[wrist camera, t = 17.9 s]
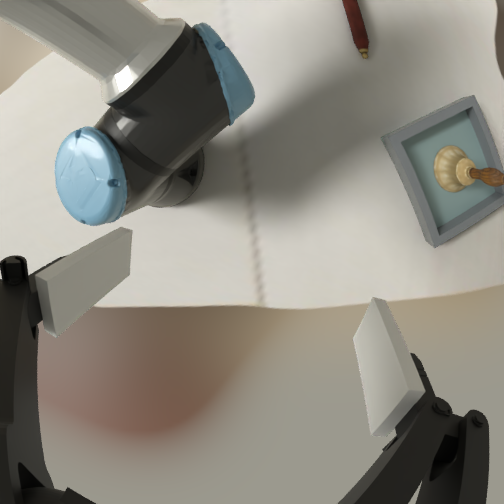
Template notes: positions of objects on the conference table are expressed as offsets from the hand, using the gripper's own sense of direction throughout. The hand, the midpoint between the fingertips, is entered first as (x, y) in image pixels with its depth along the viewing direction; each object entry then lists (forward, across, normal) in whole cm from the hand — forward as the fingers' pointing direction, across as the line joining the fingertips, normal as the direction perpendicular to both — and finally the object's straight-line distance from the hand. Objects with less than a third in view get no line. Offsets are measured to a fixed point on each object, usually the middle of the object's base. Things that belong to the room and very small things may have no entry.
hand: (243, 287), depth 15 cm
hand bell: (+34, +28, +13) cm, 46 cm away
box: (+35, +28, +13) cm, 46 cm away
